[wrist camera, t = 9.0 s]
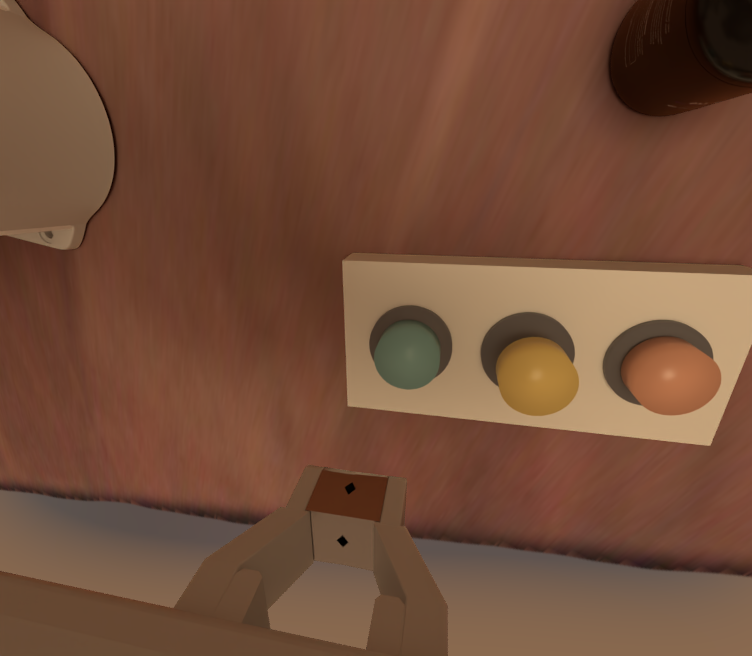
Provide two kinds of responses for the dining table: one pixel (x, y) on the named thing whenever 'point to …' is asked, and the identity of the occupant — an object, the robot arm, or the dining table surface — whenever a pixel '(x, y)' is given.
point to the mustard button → (536, 376)
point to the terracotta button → (670, 376)
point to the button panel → (545, 333)
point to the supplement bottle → (683, 54)
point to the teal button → (408, 354)
